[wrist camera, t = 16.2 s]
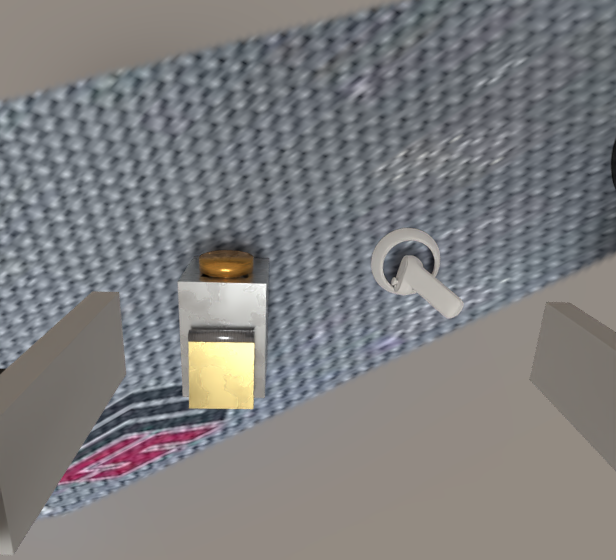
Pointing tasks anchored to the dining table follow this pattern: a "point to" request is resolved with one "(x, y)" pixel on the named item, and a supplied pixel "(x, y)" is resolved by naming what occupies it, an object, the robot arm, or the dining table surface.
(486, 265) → the dining table surface
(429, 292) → the grey ring with handle
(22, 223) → the dining table surface
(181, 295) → the block
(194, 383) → the plate
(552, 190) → the dining table surface
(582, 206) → the dining table surface
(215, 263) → the pin
